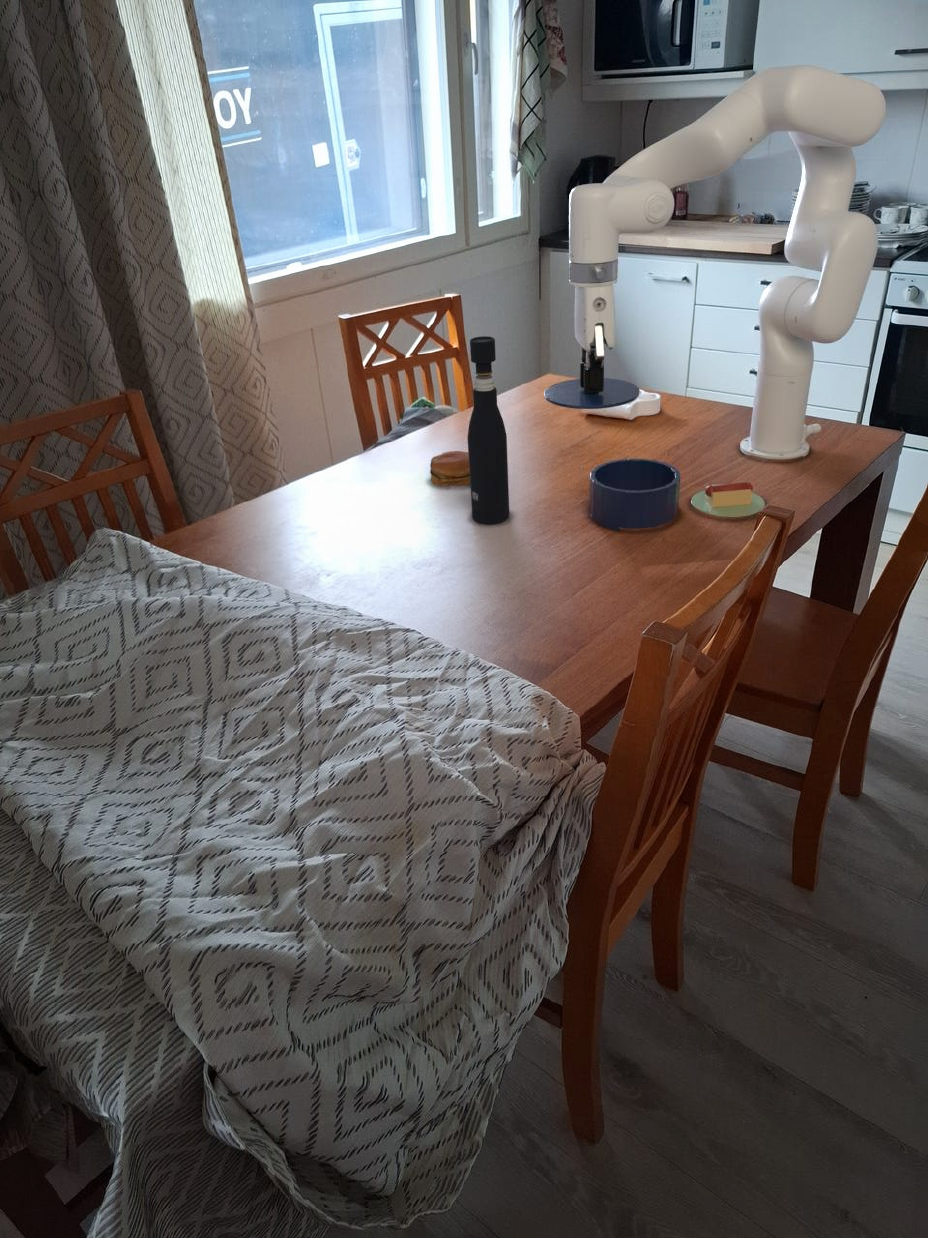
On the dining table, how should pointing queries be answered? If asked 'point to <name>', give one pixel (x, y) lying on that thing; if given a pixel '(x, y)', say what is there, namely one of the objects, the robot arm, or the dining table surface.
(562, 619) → the dining table surface
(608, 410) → the white compartment tray
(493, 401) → the black bottle
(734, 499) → the hot dog
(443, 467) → the burger
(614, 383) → the pot lid
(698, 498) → the plate
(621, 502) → the pot
